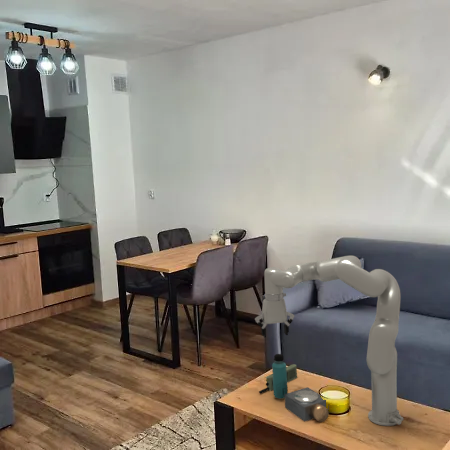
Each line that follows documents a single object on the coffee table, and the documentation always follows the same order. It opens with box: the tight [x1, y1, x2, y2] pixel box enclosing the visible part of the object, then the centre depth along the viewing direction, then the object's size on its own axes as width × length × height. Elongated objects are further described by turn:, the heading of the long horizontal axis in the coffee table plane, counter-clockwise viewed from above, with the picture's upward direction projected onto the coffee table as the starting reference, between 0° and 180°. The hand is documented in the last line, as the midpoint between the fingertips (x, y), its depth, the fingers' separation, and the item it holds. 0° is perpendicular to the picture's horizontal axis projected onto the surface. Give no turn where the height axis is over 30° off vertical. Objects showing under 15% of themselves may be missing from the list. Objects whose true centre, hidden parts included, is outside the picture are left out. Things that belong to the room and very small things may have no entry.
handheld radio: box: [258, 363, 298, 395], centre depth 238 cm, size 7×3×25 cm
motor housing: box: [284, 387, 330, 423], centre depth 211 cm, size 18×12×6 cm, turn 27°
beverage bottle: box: [271, 353, 289, 399], centre depth 224 cm, size 6×7×20 cm
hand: (275, 335), depth 220 cm, fingers open, 9 cm apart
